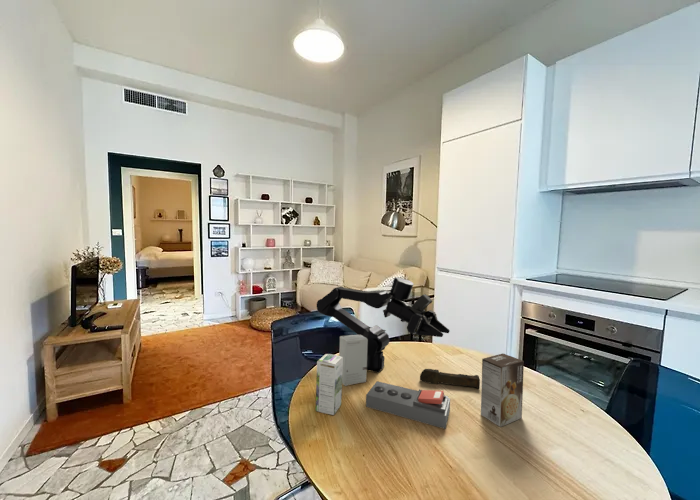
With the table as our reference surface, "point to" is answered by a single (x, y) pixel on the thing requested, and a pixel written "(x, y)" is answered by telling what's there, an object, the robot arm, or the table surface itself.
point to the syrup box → (329, 384)
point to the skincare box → (353, 358)
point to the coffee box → (502, 389)
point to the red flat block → (431, 396)
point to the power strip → (407, 404)
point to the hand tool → (449, 378)
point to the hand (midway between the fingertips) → (446, 333)
